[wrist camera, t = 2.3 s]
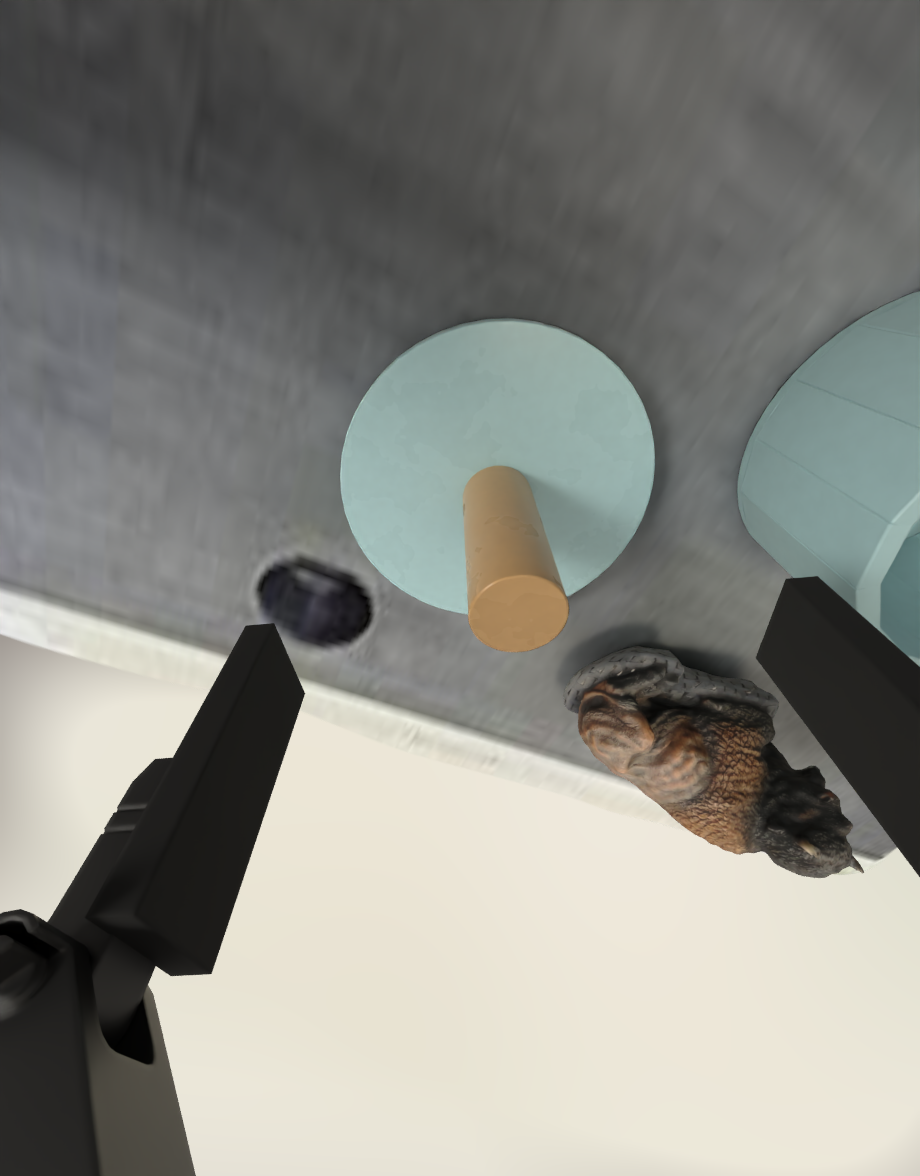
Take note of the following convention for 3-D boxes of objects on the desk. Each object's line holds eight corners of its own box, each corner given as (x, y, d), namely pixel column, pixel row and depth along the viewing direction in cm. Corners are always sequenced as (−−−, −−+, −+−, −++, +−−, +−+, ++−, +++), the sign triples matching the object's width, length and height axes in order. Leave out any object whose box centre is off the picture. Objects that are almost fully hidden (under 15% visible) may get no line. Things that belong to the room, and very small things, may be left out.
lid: (306, 337, 16) (200, 407, 9) (669, 295, 16) (842, 335, 9) (379, 611, 24) (349, 763, 17) (626, 589, 23) (702, 737, 16)
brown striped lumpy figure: (541, 695, 28) (579, 879, 20) (596, 609, 24) (670, 794, 16) (710, 729, 30) (805, 907, 22) (786, 655, 26) (935, 839, 18)
